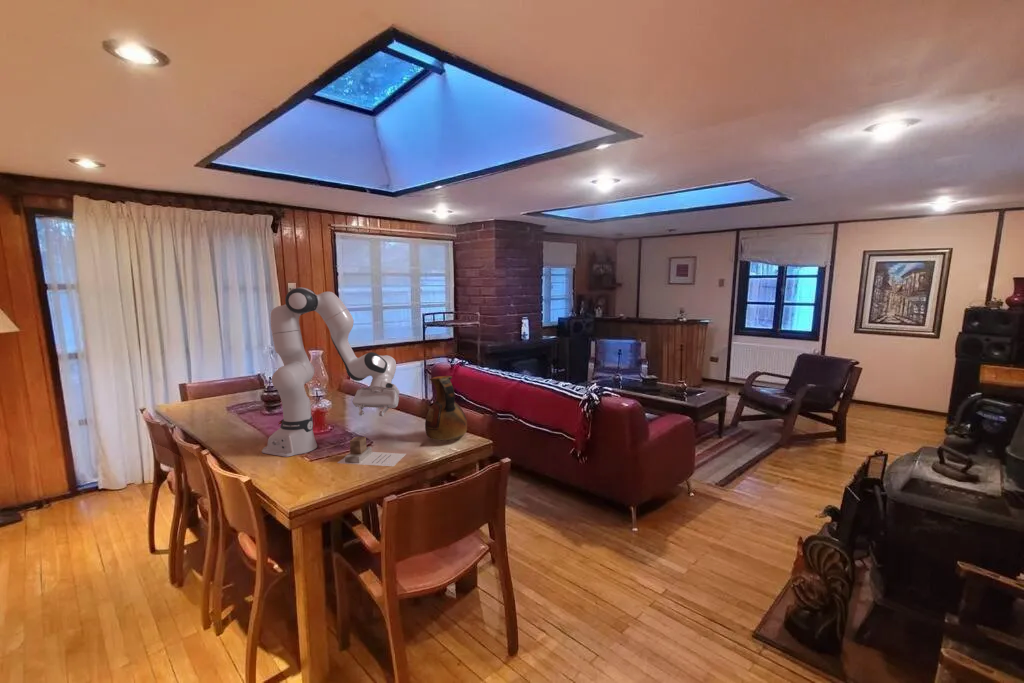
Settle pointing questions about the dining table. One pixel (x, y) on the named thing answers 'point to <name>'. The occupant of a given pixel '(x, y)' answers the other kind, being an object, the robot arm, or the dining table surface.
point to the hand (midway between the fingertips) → (370, 415)
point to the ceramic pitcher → (445, 413)
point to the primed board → (379, 459)
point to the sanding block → (358, 450)
